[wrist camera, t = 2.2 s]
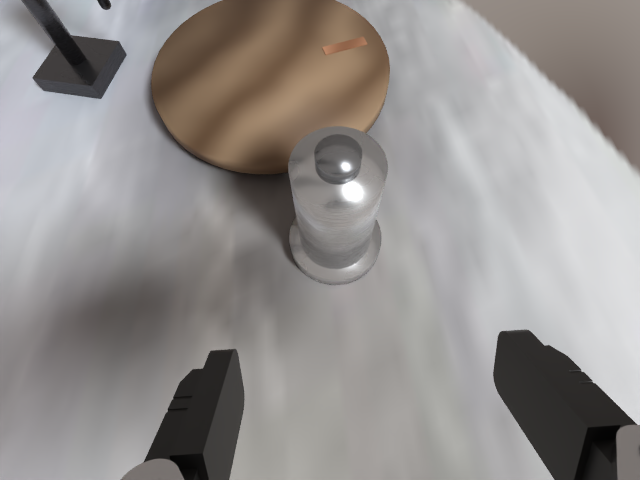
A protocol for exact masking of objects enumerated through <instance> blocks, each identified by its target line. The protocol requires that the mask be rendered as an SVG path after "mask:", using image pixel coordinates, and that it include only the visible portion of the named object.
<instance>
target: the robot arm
mask: <svg viewBox="0 0 640 480" xmlns="http://www.w3.org/2000/svg"><path fill="white" fill-rule="evenodd" d="M493 376H494V383H495V386H496V389H497V391H498V393H499V395H500V397H501V398H502V400H503V401H504V403H505V404H506V406H507V407H508V409H509V410H510V412H511V413H512V415H513V417H514V418H515V420H516V421H517V423H518V424H519V426H520V427H521V429H522V430H523V432H524V433H525V435H526V437H527V438H528V440H529V441H530V443H531V444H532V446H533V447H534V449H535V450H536V452H537V453H538V455H539V457H540V458H541V460H542V461H543V463H544V464H545V466H546V467H547V469H548V470H549V472H550V473H551V475H552V477H553V478H554V480H640V425H637V424H636V423H635V422H634V421H633V420H632V419H631V418H630V417H629V416H628V415H627V414H626V413H625V412H624V411H623V410H622V409H621V408H620V407H619V406H618V405H617V404H616V403H615V402H614V401H613V400H612V399H611V398H610V397H609V396H608V395H607V394H606V393H605V392H604V391H602V390H601V389H600V388H599V387H598V386H597V385H596V384H595V383H593V382H592V380H591V379H590V378H589V377H588V376H587V375H586V374H585V373H584V372H581V369H580V368H579V367H578V366H577V365H576V364H575V363H574V362H573V361H572V360H571V359H570V358H569V357H568V356H566V355H565V354H563V353H561V352H560V351H558V350H556V349H555V348H553V347H551V346H549V345H548V346H544V345H543V344H542V343H541V342H540V341H539V340H538V339H537V338H536V336H535V335H534V334H533V333H532V332H531V331H529V330H513V331H502V332H500V333H499V336H498V341H497V348H496V356H495V364H494V372H493ZM243 410H244V387H243V381H242V375H241V369H240V363H239V357H238V353H237V350H236V349H229V350H215V351H210V353H209V355H208V358H207V360H206V363H205V365H204V368H203V369H193V370H192V371H191V372H190V373H189V374H188V375H187V376H186V377H185V378H184V379H183V380H182V381H181V382H180V384H179V386H178V388H177V390H176V392H175V395H174V397H173V400H172V401H171V403H170V406H169V408H168V412H167V413H166V414H165V417H164V419H163V421H162V423H161V425H160V428H159V430H158V432H157V434H156V436H155V439H154V441H153V443H152V445H151V448H150V450H149V452H148V454H147V456H146V459H145V461H144V462H143V463H142V464H140V465H138V466H136V467H135V468H133V469H132V470H130V471H129V472H128V473H127V474H126V475H125V476H124V477H123V478H122V479H121V480H229V478H230V473H231V468H232V463H233V458H234V454H235V449H236V444H237V439H238V434H239V430H240V425H241V420H242V415H243Z"/></svg>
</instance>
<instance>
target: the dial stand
mask: <svg viewBox="0 0 640 480" xmlns="http://www.w3.org/2000/svg"><path fill="white" fill-rule="evenodd" d="M97 1H98V3H99V4H100V6H101V7H102V8H103V9H105V10H108V9H110V8H111V3H110V1H109V0H97ZM22 2H23V3H24V4H25V6H26V7H27V8H28V10H29V11H30V12H31V14H32V15H33V16H34V18H35V19H36V20H37V22H38V23H39V24H40V26H41V27H42V28H43V30H44V31H45V32H46V34H47V35H48V36H49V38H50V39H51V40H52V42H53V43H54V44H55V46H54V48H53V49H52V51H51V52H50V53H49V55H48V56H47V58H46V59H45V61H44V62H43V63H42V65H41V66H40V68H39V69H38V71H37V72H36V73H35V75H34V76H33V79H34V80H35V82H36V83H37V84H38V85H39V86H40V87H41V88H42V89H43V90H44V91H50V92H57V93H64V94H71V95H78V96H85V97H92V98H99V99H101V98H102V96H103V95H104V93H105V91H106V89H107V88H108V86H109V84H110V82H111V81H112V79H113V77H114V76H115V74H116V72H117V70H118V69H119V67H120V65H121V63H122V62H123V60H124V58H125V57H126V53H125V51H124V49H123V48H122V46H121V44H120V42H119V41H112V40H104V39H96V38H88V37H80V36H72V35H70V34H69V32H68V31H67V29H66V28H65V26H64V25H63V24H62V22H61V21H60V19H59V18H58V16H57V15H56V13H55V12H54V11H53V9H52V8H51V6H50V5H49V3H48V2H47V1H46V0H22Z"/></svg>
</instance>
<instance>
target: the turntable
mask: <svg viewBox="0 0 640 480" xmlns="http://www.w3.org/2000/svg"><path fill="white" fill-rule="evenodd" d="M389 74H390V65H389V57H388V54H387V50H386V47H385V45H384V43H383V41H382V39H381V37H380V35H379V34H378V33H377V31H376V30H375V28H374V27H373V26H372V25H371V24H370V23H369V22H368V21H367V20H366V19H365V18H364V17H362V16H361V15H360V14H359V13H357V12H356V11H354V10H353V9H351V8H349V7H348V6H346V5H344V4H342V3H340V2H337V1H335V0H223V1H220V2H217V3H215V4H213V5H211V6H209V7H207V8H205V9H203V10H201V11H200V12H198V13H196V14H195V15H193V16H192V17H190V18H189V19H188V20H186V21H185V22H184V23H182V24H181V25H180V26H179V27H178V28H177V29H176V30H175V31H174V32H173V33H172V34H171V36H170V37H169V38H168V39H167V40H166V42H165V43H164V45H163V47H162V48H161V50H160V51H159V54H158V56H157V58H156V60H155V63H154V67H153V71H152V80H151V88H152V96H153V100H154V103H155V106H156V108H157V110H158V112H159V114H160V116H161V118H162V120H163V122H164V123H165V125H166V127H167V128H168V130H169V132H170V133H171V134H172V135H173V137H174V138H175V139H176V141H177V142H179V143H180V144H181V145H182V146H183V147H184V148H185V149H186V150H187V151H189V152H190V153H192V154H193V155H195V156H196V157H198V158H200V159H202V160H204V161H206V162H208V163H210V164H212V165H215V166H218V167H221V168H223V169H227V170H232V171H236V172H241V173H250V174H279V173H287V172H289V171H288V163H289V158H290V155H291V153H292V151H293V149H294V147H295V146H296V145H297V143H298V142H299V141H300V140H301V139H303V138H304V137H305V136H307V135H308V134H310V133H312V132H314V131H316V130H319V129H322V128H326V127H333V126H342V127H350V128H354V129H357V130H360V131H362V132H364V133H367V132H368V130H369V129H370V128H371V127H372V126H373V124H374V122H375V121H376V119H377V118H378V116H379V114H380V112H381V110H382V107H383V105H384V102H385V98H386V94H387V88H388V83H389Z"/></svg>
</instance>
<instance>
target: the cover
mask: <svg viewBox="0 0 640 480" xmlns="http://www.w3.org/2000/svg"><path fill="white" fill-rule="evenodd" d="M288 171H289V178H290V183H291V189H292V195H293V201H294V207H295V213H296V217H295V219H294V221H293V223H292V225H291V228H290V234H289V241H290V247H291V251H292V255H293V258H294V260H295V262H296V264H297V266H298V267H299V268H300V270H301V271H302V272H303V273H304V274H306V275H307V276H308V277H310V278H311V279H313V280H315V281H318V282H320V283H324V284H329V285H342V284H347V283H351V282H353V281H356V280H357V279H359V278H361V277H362V276H364V275H365V274H366V273H367V272H368V271H369V270H370V269H371V268H372V266H373V265H374V263H375V261H376V259H377V256H378V253H379V250H380V246H381V231H380V227H379V224H378V222H377V220H376V217H377V213H378V209H379V205H380V201H381V197H382V193H383V189H384V185H385V181H386V177H387V172H388V164H387V159H386V156H385V153H384V151H383V149H382V148H381V146H380V145H379V144H378V143H377V142H376V141H375V140H374V139H373V138H372V137H371V136H369V135H368V134H366V133H364V132H362V131H360V130H357V129H354V128H350V127H342V126H333V127H326V128H322V129H319V130H316V131H314V132H312V133H310V134H308V135H307V136H305V137H304V138H303V139H301V140H300V141H299V142H298V143H297V145H296V146H295V147H294V149H293V151H292V153H291V155H290V158H289V163H288Z"/></svg>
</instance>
